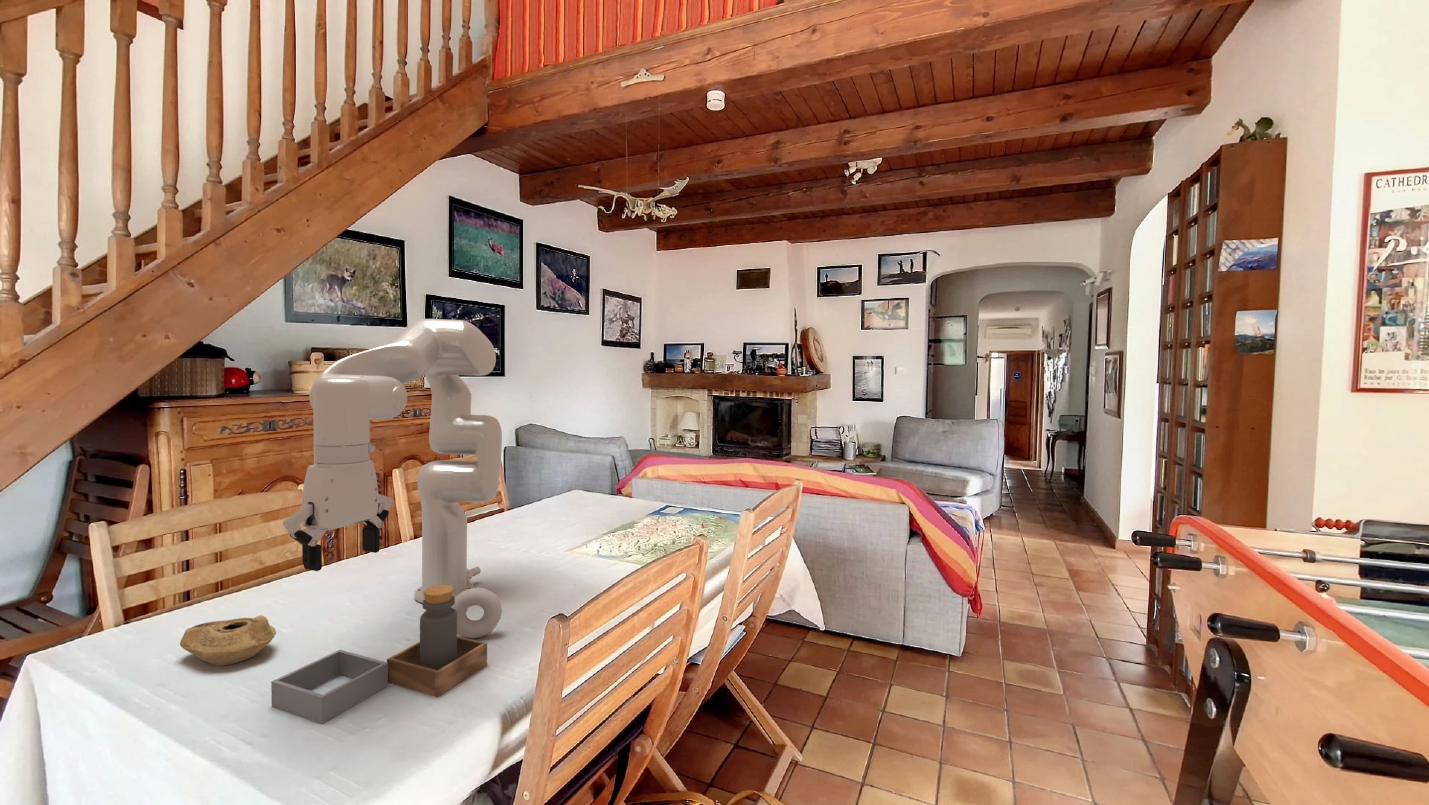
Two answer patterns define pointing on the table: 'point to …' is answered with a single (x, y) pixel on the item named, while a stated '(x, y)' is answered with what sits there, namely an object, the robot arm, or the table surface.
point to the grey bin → (320, 708)
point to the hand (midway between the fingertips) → (343, 560)
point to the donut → (489, 606)
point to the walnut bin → (436, 682)
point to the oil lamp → (228, 639)
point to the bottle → (438, 628)
